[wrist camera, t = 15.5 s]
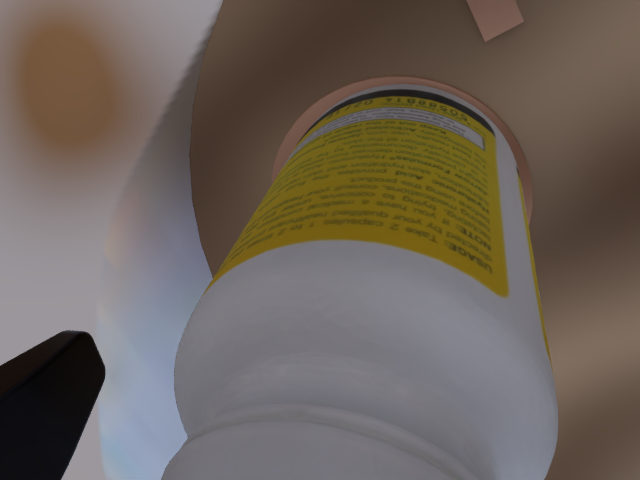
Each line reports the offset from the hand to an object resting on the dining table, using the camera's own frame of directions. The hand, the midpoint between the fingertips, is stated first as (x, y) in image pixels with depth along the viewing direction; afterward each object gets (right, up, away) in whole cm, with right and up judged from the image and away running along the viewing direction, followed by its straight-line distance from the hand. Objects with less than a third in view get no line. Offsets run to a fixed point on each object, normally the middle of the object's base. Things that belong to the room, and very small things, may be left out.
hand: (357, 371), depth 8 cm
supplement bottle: (+1, +3, +5) cm, 6 cm away
